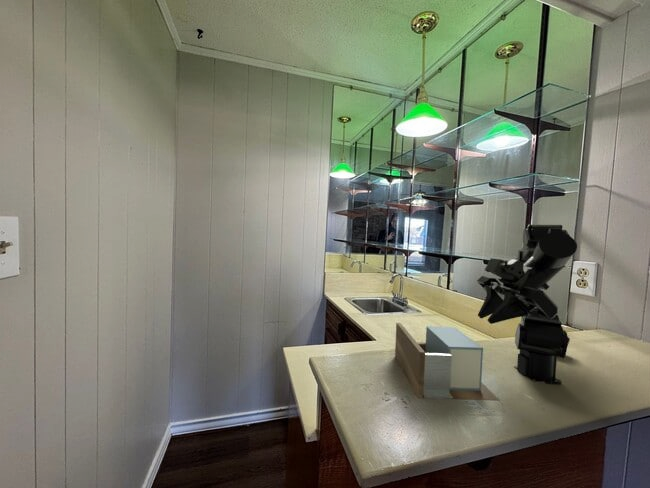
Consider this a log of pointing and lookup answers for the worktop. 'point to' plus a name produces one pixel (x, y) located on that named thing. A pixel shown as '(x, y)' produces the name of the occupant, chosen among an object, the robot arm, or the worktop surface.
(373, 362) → the worktop surface
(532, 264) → the robot arm
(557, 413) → the worktop surface
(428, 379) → the bookend
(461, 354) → the light blue block
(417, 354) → the shelf
